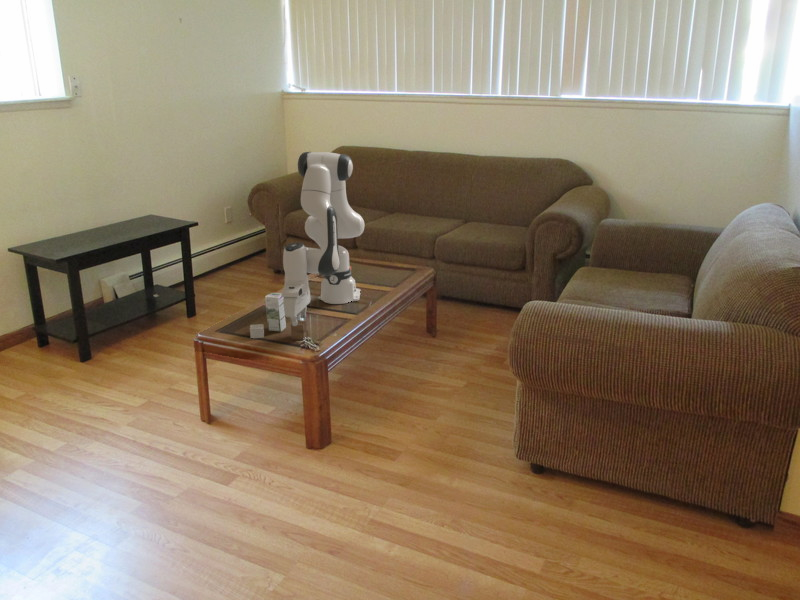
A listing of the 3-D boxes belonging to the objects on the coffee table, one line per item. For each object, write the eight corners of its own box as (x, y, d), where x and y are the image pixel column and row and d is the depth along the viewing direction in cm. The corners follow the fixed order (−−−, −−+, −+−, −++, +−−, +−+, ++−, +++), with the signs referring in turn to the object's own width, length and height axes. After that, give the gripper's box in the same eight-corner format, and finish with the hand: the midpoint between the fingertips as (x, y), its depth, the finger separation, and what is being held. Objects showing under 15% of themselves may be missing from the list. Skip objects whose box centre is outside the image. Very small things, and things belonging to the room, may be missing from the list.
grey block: (251, 334, 268) (250, 324, 266) (264, 333, 268) (263, 323, 267) (250, 339, 263) (249, 329, 262) (263, 338, 264) (263, 328, 262)
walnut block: (296, 334, 266) (295, 320, 264) (308, 335, 265) (307, 320, 263) (291, 339, 261) (290, 324, 260) (304, 339, 261) (303, 325, 259)
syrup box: (286, 327, 274) (283, 292, 270) (280, 332, 269) (278, 297, 264) (273, 326, 275) (270, 292, 271) (267, 331, 270) (264, 296, 265)
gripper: (297, 278, 267) (300, 312, 271) (279, 293, 248) (282, 329, 252) (313, 279, 266) (315, 313, 270) (296, 294, 247) (298, 330, 251)
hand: (299, 321), depth 261 cm, fingers open, 8 cm apart
